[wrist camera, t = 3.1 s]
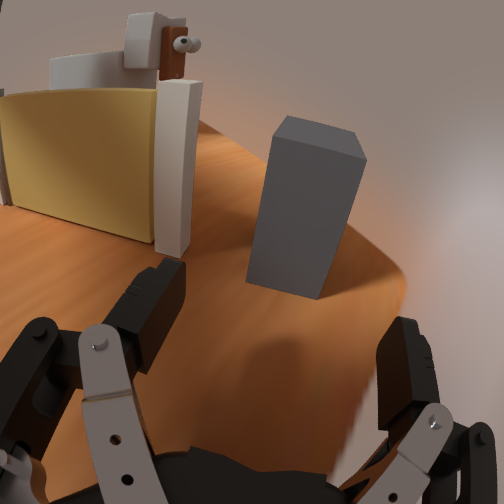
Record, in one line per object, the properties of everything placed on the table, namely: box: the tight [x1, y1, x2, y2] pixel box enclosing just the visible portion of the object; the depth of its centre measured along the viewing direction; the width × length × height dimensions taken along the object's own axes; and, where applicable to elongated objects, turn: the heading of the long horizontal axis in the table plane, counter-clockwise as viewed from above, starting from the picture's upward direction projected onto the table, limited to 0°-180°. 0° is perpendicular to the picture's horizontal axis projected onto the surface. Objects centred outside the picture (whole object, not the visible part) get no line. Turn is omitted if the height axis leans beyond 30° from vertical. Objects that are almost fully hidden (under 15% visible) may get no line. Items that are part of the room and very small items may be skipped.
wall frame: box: [0, 79, 203, 259], centre depth 20 cm, size 26×2×12 cm, turn 78°
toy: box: [49, 12, 201, 90], centre depth 41 cm, size 11×28×20 cm, turn 72°
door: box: [0, 88, 158, 243], centre depth 21 cm, size 17×3×11 cm, turn 78°
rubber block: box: [246, 116, 367, 300], centre depth 21 cm, size 5×7×10 cm
